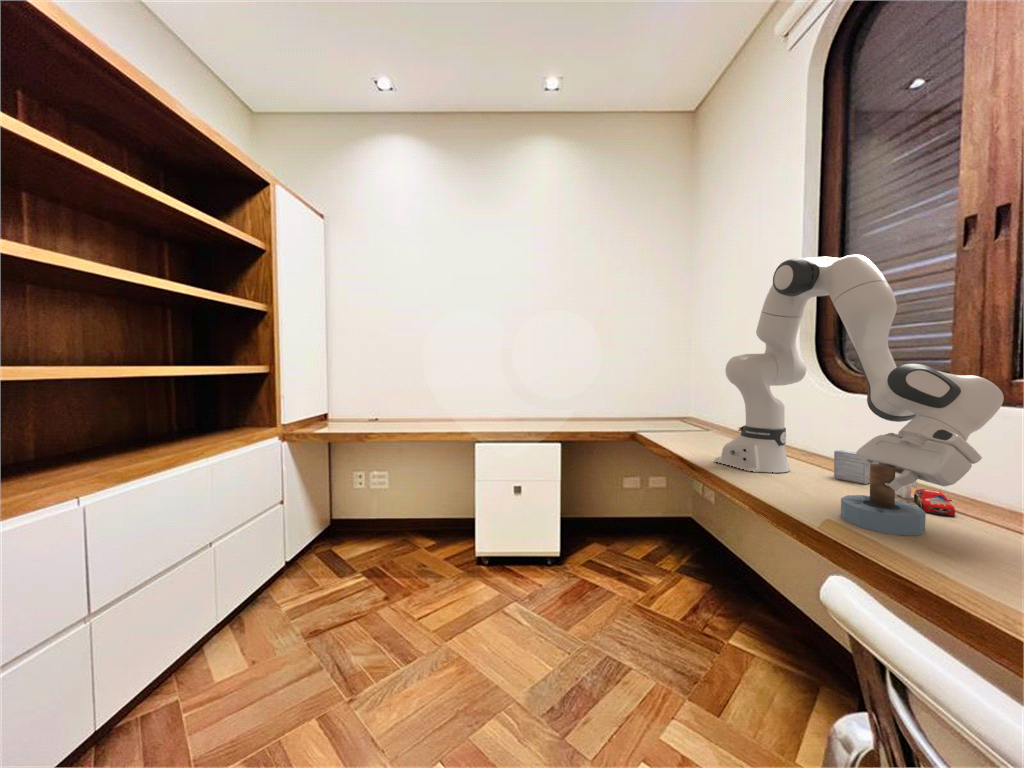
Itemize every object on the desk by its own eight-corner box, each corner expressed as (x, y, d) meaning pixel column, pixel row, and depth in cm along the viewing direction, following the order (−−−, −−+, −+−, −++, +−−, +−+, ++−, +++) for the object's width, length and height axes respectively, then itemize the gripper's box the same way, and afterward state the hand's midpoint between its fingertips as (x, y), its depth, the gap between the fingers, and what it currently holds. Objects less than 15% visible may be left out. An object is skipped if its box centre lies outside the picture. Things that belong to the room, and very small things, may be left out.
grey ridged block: (873, 482, 115) (873, 453, 114) (865, 484, 113) (865, 455, 112) (841, 476, 122) (841, 448, 121) (833, 478, 120) (833, 450, 119)
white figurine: (884, 490, 107) (885, 447, 107) (902, 491, 106) (903, 447, 106) (906, 501, 99) (907, 454, 98) (925, 502, 98) (927, 455, 97)
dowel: (866, 503, 86) (867, 465, 86) (873, 500, 88) (873, 463, 88) (891, 508, 83) (891, 469, 82) (897, 505, 85) (898, 466, 84)
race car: (958, 520, 87) (958, 502, 87) (923, 515, 91) (923, 498, 91) (942, 503, 98) (943, 487, 98) (911, 499, 101) (912, 483, 101)
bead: (831, 519, 88) (832, 501, 88) (855, 508, 95) (855, 491, 94) (912, 540, 77) (912, 520, 77) (932, 526, 84) (932, 507, 83)
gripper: (875, 423, 95) (832, 462, 96) (967, 437, 74) (911, 487, 75) (895, 441, 95) (851, 480, 96) (992, 460, 74) (936, 510, 75)
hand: (879, 484), depth 85 cm, fingers closed on dowel, 4 cm apart
